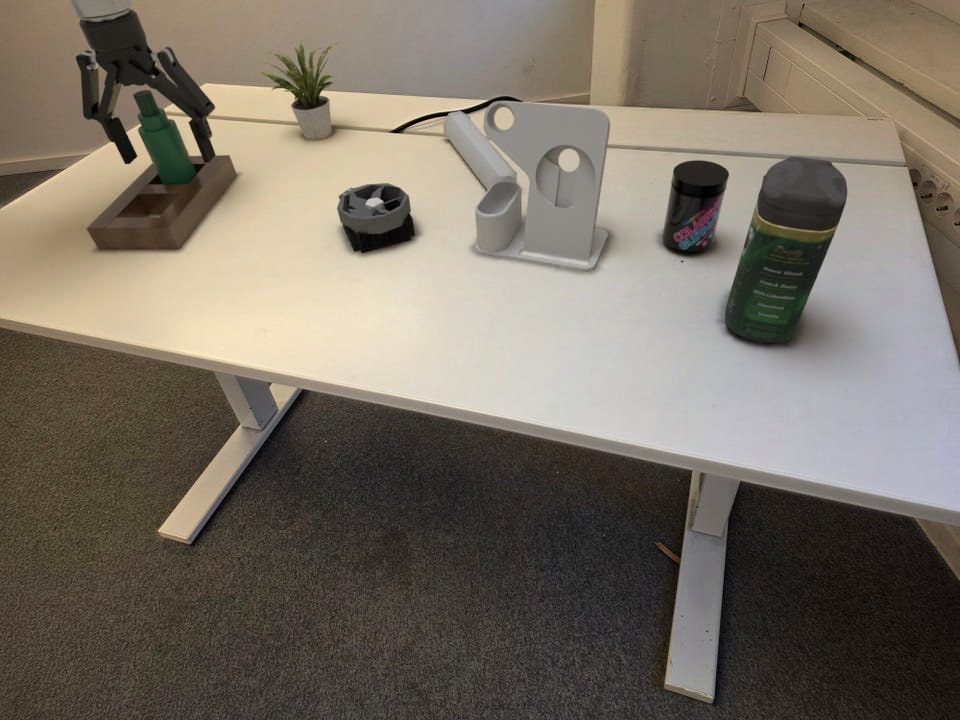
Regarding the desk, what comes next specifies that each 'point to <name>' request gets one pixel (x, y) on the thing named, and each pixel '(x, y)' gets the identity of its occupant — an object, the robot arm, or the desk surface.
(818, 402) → the desk surface
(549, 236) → the phone holder
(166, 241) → the bottle holder
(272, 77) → the house plant
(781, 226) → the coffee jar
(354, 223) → the cpu cooler
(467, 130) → the tube
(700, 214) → the supplement container
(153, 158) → the bottle
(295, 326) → the desk surface
